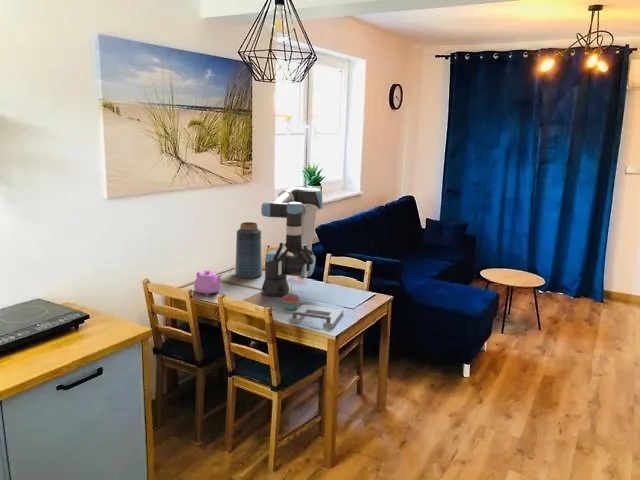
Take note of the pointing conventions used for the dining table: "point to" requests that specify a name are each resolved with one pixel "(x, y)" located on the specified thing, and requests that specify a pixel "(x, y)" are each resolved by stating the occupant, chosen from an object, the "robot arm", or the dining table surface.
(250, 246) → the blue thread spool
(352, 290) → the dining table surface
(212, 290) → the teapot
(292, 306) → the cupcake
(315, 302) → the dining table surface
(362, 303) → the dining table surface
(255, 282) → the dining table surface
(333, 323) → the grey handled tray
